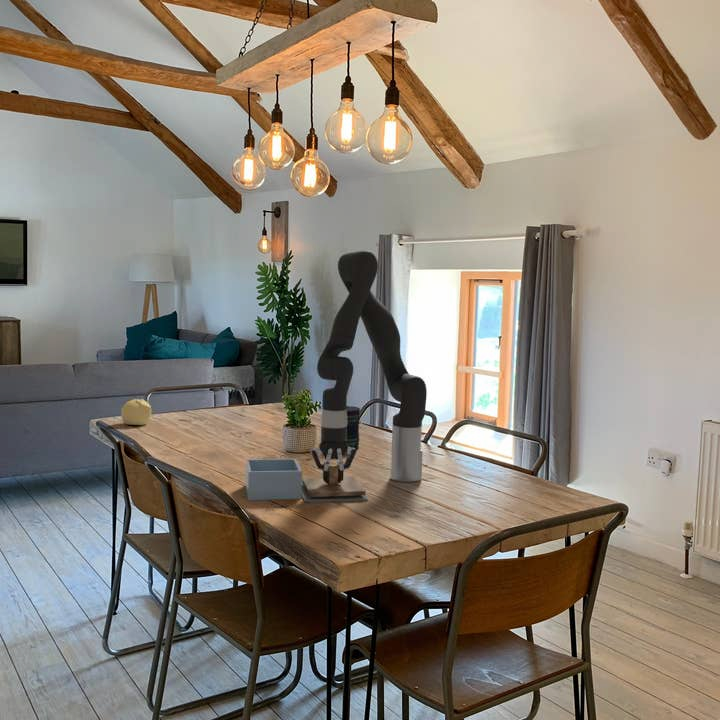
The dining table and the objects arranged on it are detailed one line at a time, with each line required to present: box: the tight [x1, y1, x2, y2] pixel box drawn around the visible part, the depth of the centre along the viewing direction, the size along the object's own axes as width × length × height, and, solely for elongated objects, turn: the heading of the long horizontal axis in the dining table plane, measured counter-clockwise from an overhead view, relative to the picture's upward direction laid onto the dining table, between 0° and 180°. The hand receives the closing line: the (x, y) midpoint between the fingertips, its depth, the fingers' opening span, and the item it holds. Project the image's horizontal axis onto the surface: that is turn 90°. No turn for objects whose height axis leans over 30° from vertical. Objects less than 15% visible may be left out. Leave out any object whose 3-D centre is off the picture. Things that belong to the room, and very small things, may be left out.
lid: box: [302, 464, 366, 497], centre depth 225 cm, size 16×16×7 cm
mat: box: [301, 483, 369, 503], centre depth 226 cm, size 18×18×1 cm
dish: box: [244, 458, 303, 501], centre depth 224 cm, size 15×15×8 cm
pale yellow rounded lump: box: [120, 398, 153, 426], centre depth 317 cm, size 11×12×11 cm
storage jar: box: [346, 405, 361, 452], centre depth 286 cm, size 10×10×15 cm
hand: (332, 482), depth 226 cm, fingers closed on lid, 3 cm apart
